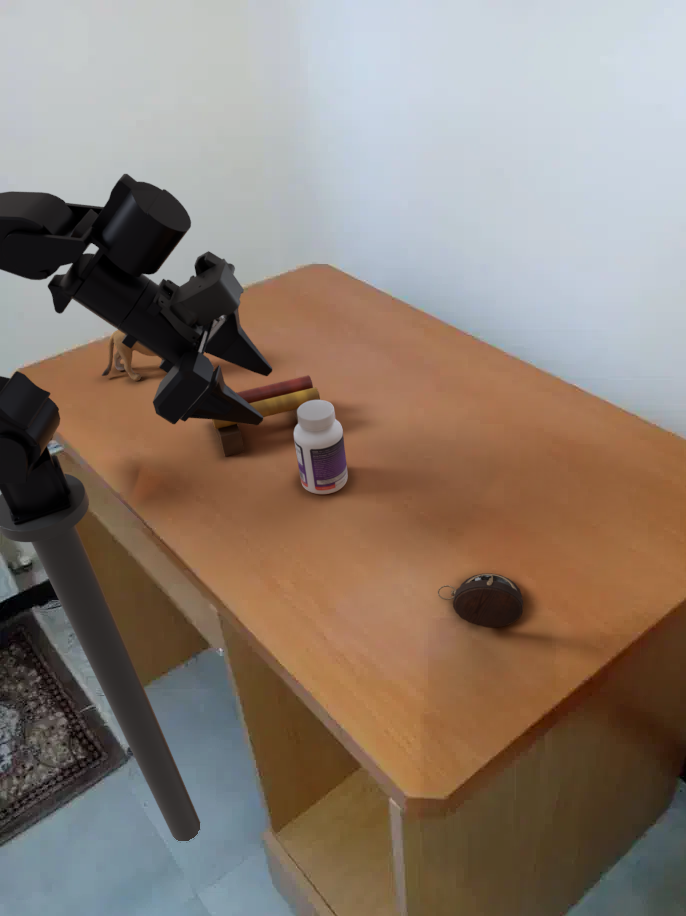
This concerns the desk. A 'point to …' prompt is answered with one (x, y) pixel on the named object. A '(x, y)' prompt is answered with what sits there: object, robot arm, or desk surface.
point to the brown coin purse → (487, 600)
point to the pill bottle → (320, 448)
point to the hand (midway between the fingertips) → (265, 396)
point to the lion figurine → (124, 355)
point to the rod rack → (266, 407)
